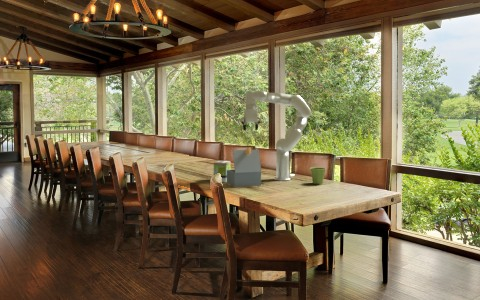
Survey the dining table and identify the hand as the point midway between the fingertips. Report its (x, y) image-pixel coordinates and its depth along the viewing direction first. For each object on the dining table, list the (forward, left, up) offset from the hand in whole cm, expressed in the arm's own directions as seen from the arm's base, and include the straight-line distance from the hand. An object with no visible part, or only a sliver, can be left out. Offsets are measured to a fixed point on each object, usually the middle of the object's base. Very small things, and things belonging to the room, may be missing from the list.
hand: (250, 130), depth 318 cm
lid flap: (+12, +21, -21) cm, 32 cm away
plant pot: (-41, +30, -38) cm, 64 cm away
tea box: (+21, -5, -39) cm, 44 cm away
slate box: (+12, +16, -38) cm, 43 cm away
